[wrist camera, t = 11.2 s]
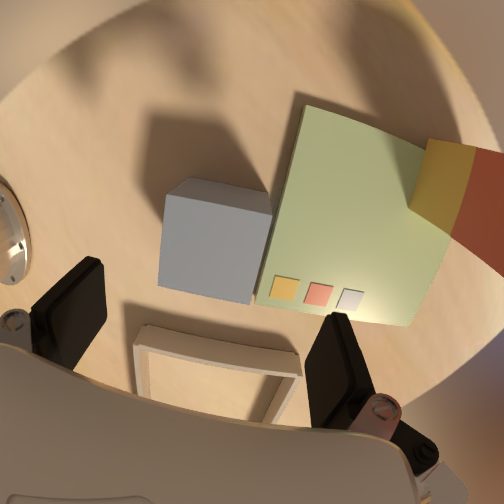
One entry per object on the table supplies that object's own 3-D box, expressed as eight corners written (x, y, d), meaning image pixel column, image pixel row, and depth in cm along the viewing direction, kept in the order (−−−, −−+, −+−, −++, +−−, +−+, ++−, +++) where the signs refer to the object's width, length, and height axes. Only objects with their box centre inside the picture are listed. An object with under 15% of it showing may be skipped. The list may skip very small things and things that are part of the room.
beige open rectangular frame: (153, 449, 39) (149, 462, 36) (142, 322, 26) (132, 342, 23) (240, 465, 40) (240, 478, 37) (300, 353, 27) (303, 374, 25)
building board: (254, 296, 24) (254, 304, 23) (303, 106, 18) (306, 104, 17) (404, 319, 26) (408, 327, 25) (464, 173, 19) (472, 175, 18)
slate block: (179, 248, 23) (157, 285, 17) (189, 176, 20) (166, 194, 15) (250, 263, 23) (249, 305, 18) (268, 192, 21) (272, 215, 15)
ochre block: (408, 208, 20) (450, 235, 14) (428, 138, 17) (477, 146, 12) (455, 226, 20) (496, 254, 15) (474, 165, 18) (521, 181, 12)
